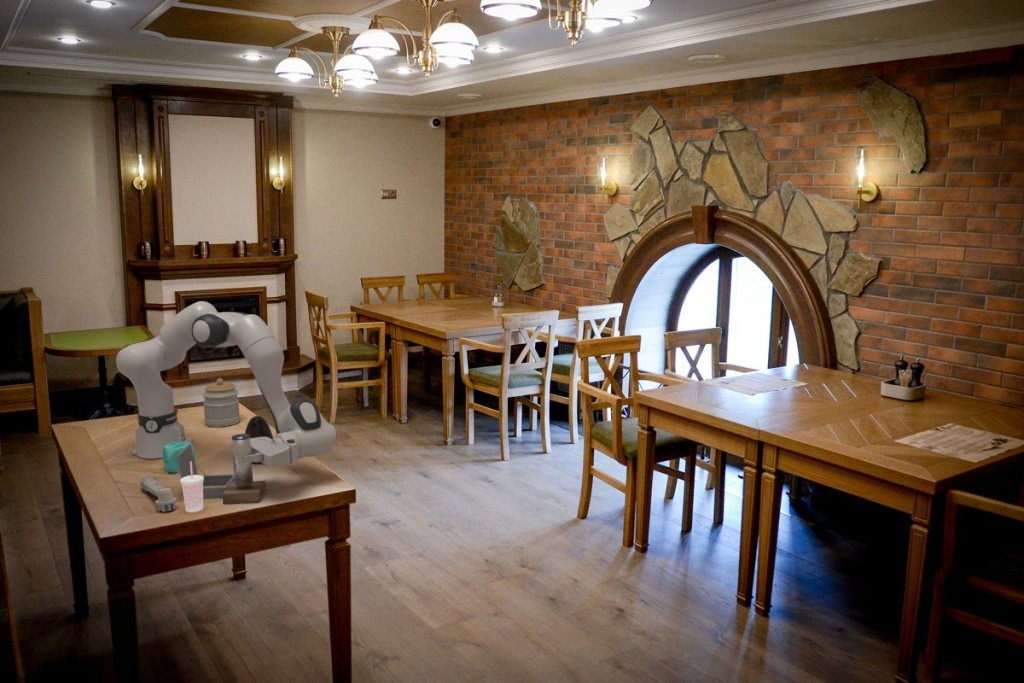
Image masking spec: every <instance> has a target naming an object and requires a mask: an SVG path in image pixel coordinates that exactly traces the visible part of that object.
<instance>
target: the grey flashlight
mask: <svg viewBox="0 0 1024 683" xmlns="http://www.w3.org/2000/svg"><path fill="white" fill-rule="evenodd" d="M139 483H140V487H141V489H142V490H143V491H145V492H147V491H149V493H151V494H152V495H153V496H156V497H157V499H156V500H155V505H156V506H157V507H156V508H157V512H163V513H166V512H170V511H171V512H172V511H173V510H175V509H176V508H177V503H176V502H177V497H176V496H174V494H173V490H172V489H171V488H170V487H165V486H163V485H162V484H161V483H160V482H158V479H157V478H155V477H154V476H152V475H151V476H149V475H148V476H143V477H142V478H141V480H140V482H139Z"/></svg>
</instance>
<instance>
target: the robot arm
mask: <svg viewBox="0 0 1024 683" xmlns="http://www.w3.org/2000/svg"><path fill="white" fill-rule="evenodd" d="M197 344H198V345H199V346H201V347H203V348H226V347H234V346H238V348H239V349H240V351H241V353H242V355H243V356H244V358H245V360H246V361H247V363H248V365H249V368H250V369H251V371H252V373H253V375H254V378H255V380H256V382H257V385H258V388H259V391H260V393H261V395H262V397H263V400H264V401H265V403H266V405H267V407H268V409H269V411H270V414H271V415H272V417H273V421H274V427H275V435H274V436H273V439H270V438H268V437H257V438H250V443H251V455H244V456H243V457H242V458H243V461H244V462H245V463H247V462H252V463H253V462H262V463H261V464H263V465H265V466H267V467H269V468H276V467H283V466H288V465H289V466H290V465H291V466H295V465H296V466H297V465H298V464H299V460H300V459H302V458H306V457H308V458H312V457H316V456H320V455H322V454H326V453H329V452H330V451H332V450H333V449H335V448H334V447H335V446H336V444H337V440H338V438H337V437H338V436H337V435H338V434H337V430H336V427H335V426H334V425H333V424H331V423H329V422H328V421H327V420H326V419H325V418H324V416H323V414H322V413H321V412H320V409H319V407H318V405H317V403H316V402H314V401H313V400H312V399H310V398H306V397H300V398H296V399H293V401H292V402H291V403H290V401H289V400H288V398H287V396H286V394H285V391H284V390H283V386H282V372H283V367H284V361H285V354H284V352H283V349H282V346H281V344H280V342H279V341H278V339H277V338H276V336H275V335H274V333H273V331H272V330H271V329H270V328H269V326H268V325H267V324H266V322H265V321H264V320H263V319H262V318H261V317H260V316H258V315H256V314H248V313H245V312H241V311H233V312H232V311H222V312H218V311H217V309H216V307H215V306H214V305H213V304H211V303H210V302H208V301H204V300H202V301H196V302H195V303H192V304H190V305H189V306H186V307H185V308H183V309H182V310H181V311H179V312H178V313H176V314H175V315H174V316H173V317H171V319H169V320H168V321H166V323H164V324H163V325H162V326H161V328H160V330H159V335H158V336H156V337H153V338H151V339H149V340H145V341H140V342H136V343H132V344H130V345H128V346H126V347H124V348H122V349H120V350H119V351H118V352H117V354H116V356H115V357H116V358H115V364H116V367H117V369H118V372H120V373H121V375H123V376H125V378H126V377H127V379H129V381H130V382H131V383H132V385H133V387H134V390H135V393H136V398H137V408H138V414H137V422H138V423H137V424H138V427H137V428H136V429H135V430H134V442H135V443H134V449H132V450H131V451H130V453H132V454H131V455H135V456H136V457H138V458H141V459H149V460H150V459H152V460H153V459H163V448H164V447H165V446H166V445H167V444H170V443H174V442H189V443H191V444H192V443H193V437H189V436H186V432H185V431H186V430H185V426H184V425H183V424H181V423H180V422H179V420H178V415H177V414H178V413H179V409H178V408H177V407H175V403H174V402H175V401H174V391H173V388H172V387H171V386H170V385H168V384H167V383H165V382H164V381H163V379H162V376H161V372H162V371H163V372H164V371H167V370H171V369H172V368H174V367H176V366H178V365H180V364H181V363H183V362H184V360H185V358H186V355H187V351H189V350H190V349H191V348H193V347H194V346H195V345H197ZM192 445H193V444H192Z"/></svg>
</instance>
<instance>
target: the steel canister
mask: <svg viewBox="0 0 1024 683" xmlns="http://www.w3.org/2000/svg"><path fill="white" fill-rule="evenodd" d="M231 444H232V459H233V460H232V461H233V475H234V477H235V485H238V486H245V485H249V484H252V483H253V481H254V475H253V474H254V473H253V462H247V463H245V462H244V461H243V458H242V457H243V456H244V455H251V443H250V435H249V434H245V433H238V434H234V435H232V436H231Z"/></svg>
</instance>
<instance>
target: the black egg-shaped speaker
mask: <svg viewBox="0 0 1024 683" xmlns="http://www.w3.org/2000/svg"><path fill="white" fill-rule="evenodd" d="M244 434H249V435H250V438H257V437H268V438H270V439H274V436H273V433H272V430H271V427H270V425H269V423H268V421H267V420H266V418H264V417H263V416H261V415H255V416H252V417H251V418H250V419H249V421H248V422H247V424H246V427H245V431H244ZM254 464H260V463H259V462H254Z"/></svg>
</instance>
